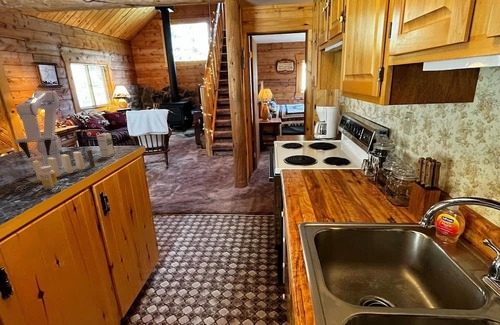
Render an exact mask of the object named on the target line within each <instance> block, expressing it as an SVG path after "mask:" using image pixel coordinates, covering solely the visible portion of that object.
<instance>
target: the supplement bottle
mask: <svg viewBox="0 0 500 325" xmlns="http://www.w3.org/2000/svg"><path fill="white" fill-rule="evenodd" d="M51 169H52V167H51V166H44V165H43V167H41V168H40V170H41V171H42V172H41V173H40V177H41V184H42V188H43V189H46V190H48V189H53V188H56V187H57V186H59V182H58V180H57V177H56V175H55V172H54V171H53V170H51Z"/></svg>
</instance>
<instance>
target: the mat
mask: <svg viewBox="0 0 500 325" xmlns="http://www.w3.org/2000/svg"><path fill="white" fill-rule="evenodd" d="M94 164H95V166H93V167H91V166H90V163H89V161H87V162H84V165H85V169H82V170H81V169H77V167H76V165H72V168H73V172H72V173H71V174H73V173H76V172H79V171H83V170H87V169H91V168H95V167H97V166H101V165H104V164H105V163H103V162H98V161H94ZM59 172H60V175H61V176H57V177H56V178H59V177H62V176H65V175H70V173H67V172H65V171H64V168H60V169H59ZM25 180H26V181H28V182H32V183H33V184H37V183H40V182H41V183H42V181H41V180H38V179H37V176H36V175H35V176H30V177H27V178H25Z"/></svg>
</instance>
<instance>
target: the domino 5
mask: <svg viewBox="0 0 500 325" xmlns="http://www.w3.org/2000/svg"><path fill="white" fill-rule="evenodd" d="M85 150H86V154H87V157H88V162H89V163H90V166H91V168H94V167H96V166H95V164H94V155H93V152H92V148H86V149H85ZM93 166H94V167H93Z"/></svg>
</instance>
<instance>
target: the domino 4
mask: <svg viewBox="0 0 500 325" xmlns="http://www.w3.org/2000/svg"><path fill="white" fill-rule="evenodd" d="M72 155H73V158H74V159H73V160H74V162H75V166H76V167H77V169H81V170H80V171H83V170H82V169H84V170H86V169H85V165H84V163H85V161H84V157H83V152H81V151H73V152H72Z"/></svg>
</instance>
